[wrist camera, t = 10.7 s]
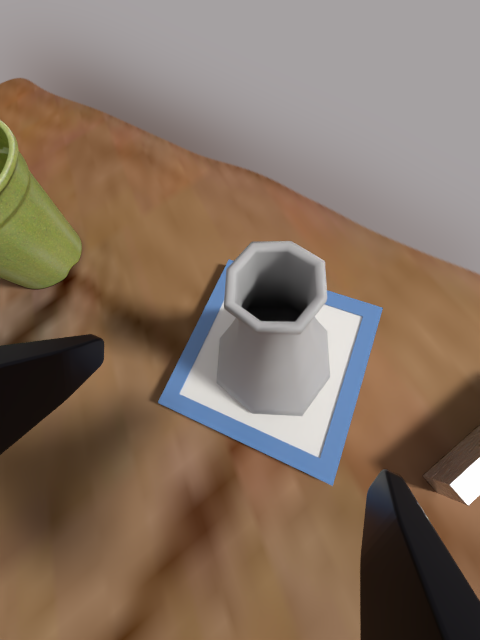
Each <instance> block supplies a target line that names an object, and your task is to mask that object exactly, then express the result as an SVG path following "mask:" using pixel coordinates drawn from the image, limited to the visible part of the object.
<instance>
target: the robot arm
mask: <svg viewBox="0 0 480 640" xmlns="http://www.w3.org/2000/svg"><path fill="white" fill-rule="evenodd" d="M103 360H104V341H103V339H102V338H100V337H97V336H95V335H92V334H88V335H81V336H73V337H65V338H57V339H49V340H42V341H34V342H26V343H18V344H10V345H3V346H0V455H1V454H2V453H3V452H4V451H5V450H7V449H8V448H9V447H10V446H12V445H13V444H14V443H15V442H16V441H18V440H19V439H20V438H21V437H22V436H24V435H25V434H26V433H27V432H28V431H30V430H31V429H32V428H33V427H34V426H36V425H37V424H38V423H39V422H40V421H42V420H43V419H44V418H45V417H46V416H48V415H49V414H50V413H51V412H52V411H54V410H55V409H56V408H57V407H58V406H60V405H61V404H62V403H63V402H64V401H65V400H67V399H68V398H69V397H70V396H71V395H72V394H73V393H74V392H75V391H76V390H77V389H78V388H79V387H80V386H81V385H82V384H83V383H84V382H85V381H86V380H87V379H88V378H89V377H90V376H91V375H92V374H93V373H94V372H95V371H96V370H97V369H98V368H99V367H100V366H101V364H102V363H103ZM360 616H361V640H480V601H479V599H478V598H477V596H476V594H475V593H474V591H473V590H472V588H471V586H470V585H469V583H468V582H467V580H466V578H465V577H464V575H463V574H462V572H461V570H460V569H459V567H458V566H457V564H456V562H455V561H454V559H453V558H452V556H451V554H450V553H449V551H448V550H447V548H446V546H445V545H444V543H443V542H442V540H441V538H440V537H439V535H438V534H437V532H436V530H435V529H434V527H433V526H432V524H431V522H430V521H429V519H428V518H427V516H426V514H425V513H424V511H423V510H422V508H421V507H420V505H419V503H418V502H417V500H416V499H415V497H414V495H413V494H412V492H411V491H410V489H409V487H408V486H407V484H406V483H405V481H404V479H403V478H402V477H401V476H400V475H398V474H396V473H394V472H391V471H389V470H387V469H383V470H382V471H381V472H380V473H379V475H378V476H377V478H376V479H375V480H374V482H373V483H372V485H371V486H370V488H369V490H368V493H367V500H366V509H365V519H364V529H363V538H362V548H361V563H360Z"/></svg>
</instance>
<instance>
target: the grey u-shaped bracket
mask: <svg viewBox="0 0 480 640" xmlns="http://www.w3.org/2000/svg"><path fill="white" fill-rule="evenodd" d="M423 477H424V478H425V479H426V480H427V482H428V483H429V484H430V485H431V486H432V487H433V488H434V490H435V491H436V492H437V493H439V494H441V495H444V496H446V497H448V498H451V499H453V500H456V501H458V502H461V503H463V504H466V505H469V504H470V503H471V502H472V501H473V500H475V499H476V498H477V497H478V496H479V495H480V425H479V426H478V427H477V428H476V429H474V430H473V431H472V432H471V433H470V434H469V435H468V436H467V437H466V438H464V439H463V440H462V441H461V442H460V443H459V444H458V445H457V446H455V447H454V448H453V449H452V450H451V451H450V452H449V453H448V454H446V455H445V456H444V457H443V458H442V459H441V460H440V461H439V462H437V463H436V464H435V465H434V466H433V467H432V468H431V469H430V470H428V471H427V472H426V473H425V474H424V475H423Z"/></svg>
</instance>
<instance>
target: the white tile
mask: <svg viewBox="0 0 480 640" xmlns="http://www.w3.org/2000/svg"><path fill="white" fill-rule="evenodd" d="M233 262H234V261H232V260H228V262H227V264H226V266H225V268H224V270H223V272H222V274H221V276H220V278H219V280H218V282H217V284H216V286H215V288H214V291H213V293H212V295H211V297H210V299H209V301H208V303H207V305H206V307H205V309H204V311H203V313H202V315H201V317H200V319H199V321H198V323H197V325H196V327H195V329H194V331H193V333H192V335H191V337H190V339H189V341H188V343H187V345H186V347H185V349H184V351H183V353H182V355H181V357H180V359H179V361H178V363H177V365H176V367H175V369H174V371H173V373H172V375H171V377H170V379H169V381H168V383H167V385H166V387H165V389H164V391H163V393H162V395H161V397H160V399H159V401H158V403H159V404H161V405H163V406H166V407H168V408H170V409H172V410H174V411H176V412H178V413H180V414H182V415H185V416H187V417H189V418H191V419H193V420H195V421H197V422H199V423H201V424H204V425H206V426H208V427H210V428H212V429H214V430H216V431H218V432H220V433H223V434H225V435H227V436H229V437H231V438H233V439H235V440H237V441H239V442H242V443H244V444H246V445H248V446H250V447H252V448H254V449H256V450H258V451H260V452H263V453H265V454H267V455H269V456H271V457H273V458H275V459H277V460H279V461H282V462H284V463H286V464H288V465H290V466H292V467H294V468H296V469H298V470H301V471H303V472H305V473H307V474H309V475H311V476H313V477H315V478H317V479H320V480H322V481H324V482H326V483H328V484H330V485H332V486H333V483H334V479H335V476H336V472H337V469H338V465H339V462H340V458H341V455H342V451H343V447H344V444H345V440H346V437H347V433H348V430H349V426H350V423H351V419H352V416H353V412H354V408H355V405H356V401H357V398H358V394H359V391H360V387H361V384H362V380H363V377H364V373H365V369H366V366H367V362H368V359H369V355H370V352H371V348H372V345H373V341H374V337H375V334H376V330H377V327H378V323H379V320H380V316H381V313H382V309H383V308H381V307H378V306H375V305H372V304H369V303H365V302H362V301H359V300H356V299H353V298H350V297H346V296H343V295H340V294H337V293H334V292H330V291H327V301H326V303H325V304H324V305H323V307H322V308H321V309H320V310H319V312H318V313H317V314H316V315H315V318H316V319H317V320H318V322H319V323H320V324H321V325H322V326H323V327H324V328H325V329H326V331H327V335H328V351H329V366H330V378H329V379H328V381H327V382H326V384H325V385H324V386H323V388H322V389H321V391H320V392H319V393H318V395H317V396H316V397H315V399H314V400H313V402H312V403H311V404H310V406H309V407H308V409H307V410H306V411H305V413H304V414H303V416H289V415H268V414H252V413H251V412H250V411H249V410H248V409H246V408H245V407H244V406H243V405H242V404H241V403H239V402H238V401H237V400H236V399H235V398H234V397H232V396H231V395H230V394H229V393H228V392H227V391H225V390H224V389H223V388H222V387H221V386H220V385H218V384H217V383H216V382H217V369H218V356H219V343H220V338H221V336H222V335H223V334H224V333H225V331H226V330H227V329H228V328H229V327H230V326H231V324H232V323H233V321H234V320H235V318H236V317H234V316H233V315H232V314H230V313H229V312H228V311H226V310H225V309H224V296H225V283H226V269H227V268H228V267H229V266H230V265H231V264H232V263H233Z"/></svg>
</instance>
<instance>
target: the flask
mask: <svg viewBox="0 0 480 640" xmlns="http://www.w3.org/2000/svg"><path fill="white" fill-rule="evenodd" d="M326 301H327V287H326V272H325V261H324V260H322V259H321V258H319V257H317V256H316V255H314V254H312V253H310V252H309V251H307V250H305V249H304V248H302V247H300V246H299V245H297V244H295V243H293V242H292V241H269V242H251V243H250V244H249V245H248V246H247V247H246V249H245V250H244V251H243V252H242V253H241V254H240V255H239V256H238V257H237V258H236V259H235V260H234V262H233V263H232V264H231V265H230V266H229V267H228V268H227V269H226V283H225V296H224V309H225V310H226V311H228V312H229V313H230V314H232V315H233V316H234V317H236V318H235V320H234V321H233V323H232V324H231V326H230V327H229V328H228V329H227V330H226V331H225V333H224V334H223V335H222V336H221V338H220V343H219V356H218V369H217V382H216V383H217V384H218V385H220V386H221V387H222V388H223V389H224V390H225V391H227V392H228V393H229V394H230V395H231V396H232V397H234V398H235V399H236V400H237V401H238V402H239V403H241V404H242V405H243V406H244V407H245V408H246V409H248V410H249V411H250V412H251V413H252V414H268V415H289V416H303V414H304V413H305V411H306V410H307V409H308V407H309V406H310V404H311V403H312V402H313V400H314V399H315V397H316V396H317V395H318V393H319V392H320V391H321V389H322V388H323V386H324V385H325V384H326V382H327V381H328V379H329V378H330V366H329V351H328V335H327V331H326V329H325V328H324V327H323V326H322V325H321V324H320V323H319V322H318V320H317V319H316V318H315V315H316V314H317V313H318V312H319V310H320V309H321V308H322V307H323V305H324V304H325V303H326Z"/></svg>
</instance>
